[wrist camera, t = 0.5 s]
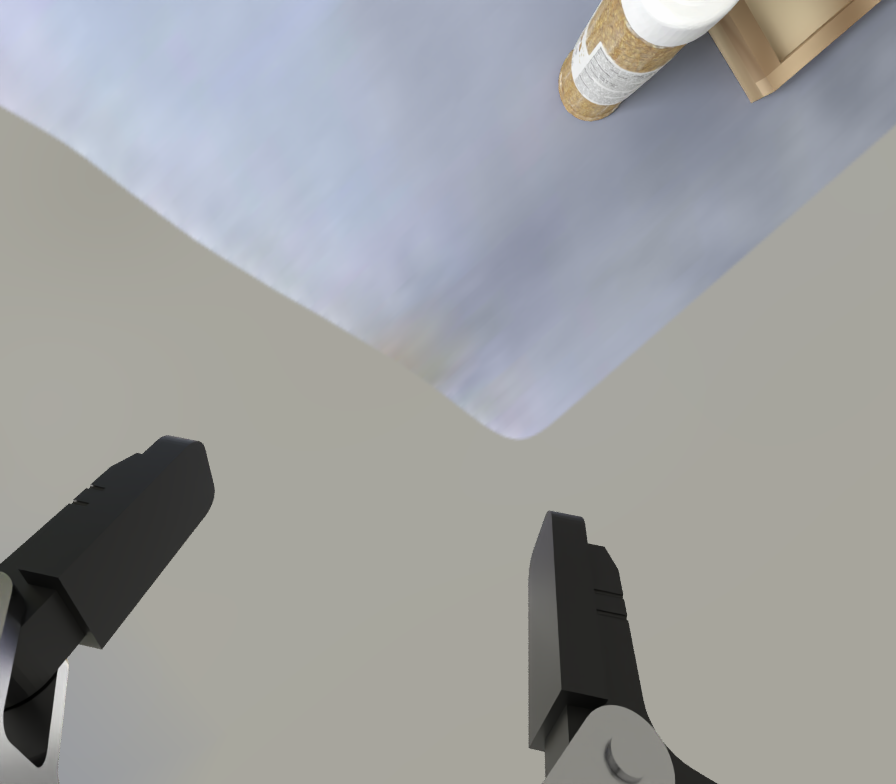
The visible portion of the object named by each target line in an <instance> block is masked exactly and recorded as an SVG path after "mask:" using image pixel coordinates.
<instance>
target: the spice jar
mask: <svg viewBox="0 0 896 784" xmlns="http://www.w3.org/2000/svg"><path fill="white" fill-rule="evenodd" d="M738 1H739V0H602V1H601V3H600V4H599V6H598V8H597V9H596V11H595V13H594V14H593V16H592V18H591V19H590V21H589V22H588V24H587V26H586V27H585V29H584V31H583V32H582V34H581V36H580V37H579V39H578V41H577V43H576V45H575V48H574V49H573V50H572V51H571V52H570V53H569V55H568V56H567V58H566V59H565V61H564V63H563V65H562V68H561V71H560V75H559V93H560V97H561V100H562V102H563V105H564V106H565V108H566V110H567V111H568V112H569V113H571V114H572V115H573V116H575V117H576V118H578V119H581V120H584V121H595V120H599V119H602V118H604V117H606V116H608V115H609V114H611V113H612V112H613V111H614V110H615V109H616V108H617V107H618V106H619V105H620V103H621V102H622V101H623V100H625V99H626V98H627V97H629V96H630V95H631V94H632V93H634V92H635V91H636V90H637V89H638V88H639V87H641V86H642V85H643V84H644V83H645V82H646V81H648V80H649V79H650V78H651V77H652V76H653V75H654V74H656V73H657V72H658V71H659V70H660V69H661V68H662V67H663V66H665V65H666V64H667V63H668V62H669V61H670V60H671V59H672V58H673V57H674V56H675V55H676V54H677V52H678V51H680V50H681V49H682V48H683V47H684V46H685V45H686V44H687V43H689V42H692V41H694V40H696V39H697V38H699V37H701V36H702V35H703V34H705V33H706V32H707V31H708V30H710V29H711V28H712V27H713V26H714V25H715V24H717V23H718V22H719V21H720V20H721V19H722V18H723V17H724V16H725V15H726V14H727V13H728V12H729V11H730V10H731V9H732V8H733V7H734V6H735V5H736V4H737V2H738Z"/></svg>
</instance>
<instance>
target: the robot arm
mask: <svg viewBox="0 0 896 784" xmlns="http://www.w3.org/2000/svg"><path fill="white" fill-rule="evenodd" d="M214 493H215V490H214V483H213V479H212V475H211V471H210V467H209V463H208V459H207V454H206V450H205V447H204V445H203V444H202V443H201V442H199V441H194V440H189V439H184V438H179V437H174V436H169V435H168V436H164V437H161V438H160V439H158V440H157V441H156V442H155V443H154V444H153V445H152V446H151V447H149V448H148V449H147V450H146V451H145V452H144V453H143V454H139V453H136V454H134V455H132V456H130V457H128V458H126V459H125V460H123V461H121V462H119V463H117V464H115V465H113V466H111V467H110V468H109V469H108V470H107V471H105V472H104V473H103V474H102V475H101V476H100V477H99V478H97V479H96V480H95V481H94V482H93V483H92V484H91V486H90V488H89V489H87V488H86V489H85V490H84V491H83V492H82V493H80V494H79V495H78V496H77V497H76V498H75V499H74V501H73V503H72V504H68V505H67V506H66V507H65V508H64V509H62V510H61V511H60V512H59V513H58V514H57V515H56V516H54V517H53V518H52V519H51V520H50V521H49V522H47V523H46V524H45V525H44V526H43V527H42V528H41V529H40V530H39V531H37V532H36V533H35V534H34V535H33V536H32V537H30V538H29V539H28V540H27V541H26V542H25V543H24V544H23V545H21V546H20V547H19V548H18V549H17V550H16V551H15V552H13V553H12V554H11V555H10V556H9V557H8V558H7V559H5V560H4V561H3V562H2V563H1V564H0V784H59V779H58V760H59V750H60V741H61V733H62V724H63V715H64V706H65V697H66V688H67V679H68V670H69V664H68V660H67V657H68V656H69V655H70V654H71V653H72V651H73V650H74V649H75V648H76V646H77V645H78V644H80V645H85V646H89V647H94V648H98V649H102V648H103V647H104V646H105V645H106V643H107V642H108V641H109V639H110V638H111V637H112V636H113V634H114V633H115V632H116V630H117V629H118V628H119V627H120V625H121V624H122V623H123V621H124V620H125V619H126V618H127V616H128V615H129V614H130V612H131V611H132V610H133V609H134V607H135V606H136V605H137V603H138V602H139V601H140V599H141V598H142V597H143V595H144V594H145V593H146V592H147V590H148V589H149V588H150V587H151V585H152V584H153V583H154V581H155V580H156V579H157V578H158V576H159V575H160V574H161V572H162V571H163V570H164V568H165V567H166V566H167V565H168V563H169V562H170V561H171V559H172V558H173V557H174V555H175V554H176V553H177V552H178V550H179V549H180V548H181V546H182V545H183V544H184V542H185V541H186V540H187V539H188V537H189V536H190V535H191V534H192V532H193V531H194V529H195V528H196V527H197V526H198V525H199V523H200V522H201V521H202V519H203V518H204V517H205V516H206V514H207V513H208V511H209V509H210V507H211V505H212V502H213V499H214ZM528 586H529V587H528V588H529V591H528V592H529V594H528V595H529V748H531V749H535V750H539V751H544V752H545V774H546V775H545V777H546V779H545V780H544V782H543V783H542V784H717V783H715V782H714V781H712V780H710V779H709V778H707V777H705V776H704V775H702V774H700V773H699V772H697V771H695V770H693V769H692V768H690V767H689V766H688V765H686V764H685V763H683V762H682V761H681V760H680V759H679V758H678V757H676V756H675V755H674V754H673V753H672V752H671V750H670V749H669V748H668V747H667V746H666V745H665V744H664V742H663V741H662V739H661V738H660V736H659V735H658V734H657V732H656V731H655V729H654V727H653V725H652V723H651V721H650V719H649V717H648V715H647V712H646V709H645V705H644V701H643V696H642V691H641V685H640V680H639V675H638V670H637V664H636V659H635V654H634V649H633V644H632V638H631V633H630V628H629V623H628V621H627V619H626V618H627V613H626V607H625V602H624V599H623V591H622V586H621V581H620V576H619V571H618V568H617V567H616V565H615V563H614V562H613V560H612V559H611V557H610V555H609V554H608V552H607V550H606V549H605V547H603V546H598V545H592V544H588V543H587V535H586V528H585V522H584V519H583V518H582V517H579V516H574V515H569V514H564V513H559V512H553V511H548V512H547V514H546V516H545V519H544V521H543V524H542V527H541V530H540V533H539V536H538V538H537V541H536V544H535V547H534V550H533V553H532V557H531V561H530V568H529V583H528Z"/></svg>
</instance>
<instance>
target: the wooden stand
mask: <svg viewBox="0 0 896 784" xmlns="http://www.w3.org/2000/svg"><path fill="white" fill-rule="evenodd" d="M880 1H881V0H739V1H738V2H737V4H736V5H735V6H734V7H733V8H732V9H731V10H730V11H729V12H728V13H727V14H726V15H725V16H724V17H723V18H722V19H721V20H720V21H719V22H718V23H717V24H715V25H714V26H713V27H712V28H711V29H710V30H708V32H709V34H710V35H711V37H712V38H713V40H714V42H715V43H716V45H717V47H718V48H719V50H720V52H721V53H722V55H723V57H724V58H725V60H726V62H727V63H728V65H729V67H730V68H731V70H732V72H733V73H734V75H735V76H736V78H737V80H738V81H739V83H740V85H741V86H742V88H743V90H744V91H745V93H746V95H747V96H748V98H749V100H750V101H751V103H752V102H754V101H756V100H758V99H760V98H762V97H764V96H766V95H768V94H770V93H772V92H774V91H776V90H777V89H778V88H779V87H780V86H781V85H783V84H784V83H785V82H786V81H787V80H788V79H790V78H791V77H792V76H793V75H794V74H795V73H797V72H798V71H799V70H800V69H801V68H803V67H804V66H805V65H806V64H807V63H808V62H810V61H811V60H812V59H813V58H814V57H815V56H817V55H818V54H819V53H820V52H821V51H822V50H824V49H825V48H826V47H827V46H828V45H829V44H831V43H832V42H833V41H834V40H835V39H836V38H838V37H839V36H840V35H841V34H842V33H844V32H845V31H846V30H847V29H848V28H849V27H851V26H852V25H853V24H854V23H855V22H856V21H858V20H859V19H860V18H861V17H862V16H863V15H865V14H866V13H867V12H868V11H869V10H870V9H872V8H873V7H874V6H875V5H876V4H877V3H879V2H880Z"/></svg>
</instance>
